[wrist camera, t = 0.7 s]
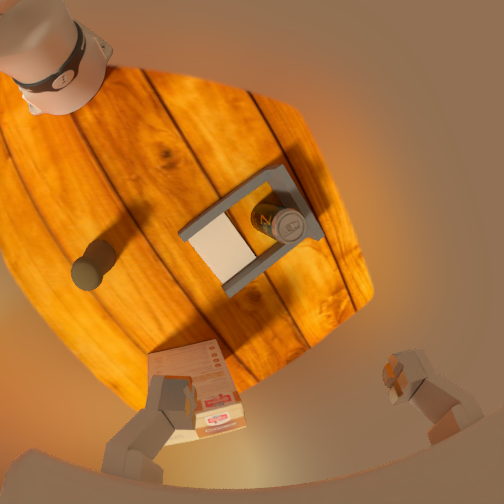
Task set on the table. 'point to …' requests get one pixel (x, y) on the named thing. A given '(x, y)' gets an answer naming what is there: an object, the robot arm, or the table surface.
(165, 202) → the table surface
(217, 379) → the coffeecake box
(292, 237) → the beer can
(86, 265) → the cork
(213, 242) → the bay
